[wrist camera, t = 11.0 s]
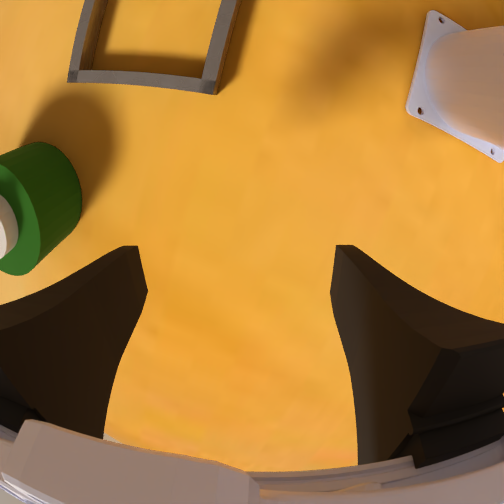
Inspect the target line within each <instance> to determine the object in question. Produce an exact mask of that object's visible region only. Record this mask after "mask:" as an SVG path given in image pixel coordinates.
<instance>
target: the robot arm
mask: <svg viewBox="0 0 504 504" xmlns="http://www.w3.org/2000/svg"><path fill="white" fill-rule="evenodd" d="M439 18H440V19H441V20H442V23H440V21H439ZM419 107H420V108H421V110H422V112H421V114H418V108H419ZM405 108H406V111H407V112H408V113H409V114H410V115H412V116H414V117H416V118H418V119H421V120H423V121H425V122H427V123H429V124H431V125H433V126H435V127H437V128H439V129H441V130H443V131H445V132H447V133H449V134H450V135H452V136H454V137H456V138H458V139H460V140H461V141H463V142H465V143H467V144H469V145H470V146H472V147H474V148H475V149H477V150H479V151H480V152H482V153H484V154H485V155H487V156H489V157H490V158H492V159H493V160H495V161H497V162H499V163H501V162H503V160H504V26H495V27H488V28H481V29H474V30H466V29H465V28H463V27H462V26H460V25H459V24H457V23H455V22H454V21H452V20H451V19H449V18H447V17H446V16H444V15H442V14H441V13H439V12H437V11H435V10H431V11H429V12H428V13H427V16H426V21H425V27H424V32H423V37H422V41H421V46H420V50H419V55H418V59H417V63H416V67H415V72H414V76H413V80H412V83H411V87H410V91H409V95H408V98H407V102H406V107H405ZM491 149H492V153H491ZM147 293H148V289H147V285H146V281H145V277H144V272H143V268H142V263H141V259H140V254H139V249H138V246H122V247H119V248H117V249H115V250H113V251H111V252H109V253H107V254H106V255H104V256H102V257H100V258H99V259H97V260H95V261H94V262H92V263H90V264H89V265H87V266H85V267H84V268H82V269H80V270H78V271H77V272H75V273H73V274H71V275H70V276H68V277H66V278H64V279H63V280H61V281H59V282H57V283H55V284H53V285H51V286H49V287H47V288H45V289H42V290H40V291H38V292H36V293H33V294H31V295H28V296H25V297H23V298H20V299H18V300H15V301H12V302H9V303H6V304H3V305H0V488H1V489H3V490H4V491H6V492H7V493H9V494H11V495H12V496H14V497H15V498H17V499H19V500H21V501H22V502H24V503H25V504H503V503H504V412H503V410H502V408H504V396H503V393H504V324H503V323H499V322H495V321H491V320H487V319H483V318H480V317H477V316H475V315H472V314H469V313H466V312H463V311H461V310H458V309H456V308H453V307H451V306H449V305H447V304H444V303H442V302H440V301H438V300H436V299H434V298H432V297H430V296H428V295H426V294H424V293H423V292H421V291H419V290H417V289H415V288H414V287H412V286H411V285H409V284H407V283H406V282H404V281H403V280H401V279H400V278H398V277H397V276H395V275H394V274H392V273H391V272H390V271H388V270H387V269H385V268H384V267H383V266H381V265H380V264H379V263H377V262H376V261H375V260H373V259H372V258H371V257H369V256H368V255H367V254H365V253H364V252H363V251H361V250H360V249H358V248H357V247H355V246H353V245H336V251H335V259H334V267H333V275H332V282H331V289H330V295H331V302H332V308H333V314H334V318H335V321H336V325H337V328H338V332H339V335H340V338H341V342H342V345H343V348H344V352H345V355H346V359H347V362H348V366H349V371H350V376H351V382H352V389H353V397H354V405H355V415H356V427H357V443H358V465H357V466H350V467H342V468H333V469H322V470H309V471H288V472H246V471H243V470H240V469H237V468H234V467H231V466H228V465H226V464H223V463H220V462H217V461H212V460H206V459H201V458H196V457H191V456H186V455H181V454H174V453H167V452H161V451H155V450H149V449H143V448H138V447H133V446H128V445H124V444H119V443H115V442H111V441H107V440H103V434H104V426H105V420H106V414H107V408H108V403H109V399H110V394H111V390H112V386H113V382H114V379H115V375H116V372H117V368H118V365H119V362H120V360H121V357H122V355H123V353H124V350H125V348H126V346H127V344H128V341H129V339H130V337H131V335H132V333H133V330H134V328H135V326H136V324H137V322H138V319H139V317H140V315H141V313H142V310H143V306H144V303H145V300H146V296H147Z"/></svg>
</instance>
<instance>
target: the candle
mask: <svg viewBox="0 0 504 504" xmlns="http://www.w3.org/2000/svg"><path fill="white" fill-rule="evenodd" d="M81 209H82V194H81V187H80V183H79V179H78V177H77V174H76V172H75V169H74V168H73V166H72V164H71V163H70V161H69V160H68V158H67V157H66V156H65V155H64V154H63V153H62V152H61V151H60V150H59V149H57V148H56V147H54V146H52V145H50V144H48V143H43V142H34V143H31V144H28V145H25V146H23V147H20V148H17V149H15V150H12V151H10V152H7V153H5V154H3V155H0V270H1V271H3V272H5V273H7V274H10V275H14V276H20V275H24V274H27V273H29V272H30V271H31V270H32V269H33V268H34V267H35V266H36V265H37V264H38V263H39V262H40V261H41V260H42V259H43V258H44V257H45V256H47V255H48V254H49V253H50V252H51V251H52V250H53V249H54V248H55V247H56V246H57V245H58V244H59V243H60V242H61V241H62V240H64V239H65V238H66V237H67V236H68V235H69V234H70V233H71V232H72V231H73V230H74V228H75V227H76V225H77V223H78V221H79V218H80V214H81Z"/></svg>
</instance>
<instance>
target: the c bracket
mask: <svg viewBox="0 0 504 504" xmlns="http://www.w3.org/2000/svg"><path fill="white" fill-rule="evenodd" d="M107 1H108V0H85V2H84V5H83V9H82V12H81V16H80V20H79V24H78V28H77V32H76V36H75V41H74V46H73V51H72V56H71V61H70V67H69V73H68V79H67V83H112V84H128V85H141V86H152V87H161V88H170V89H178V90H185V91H192V92H199V93H205V94H211V95H217V93H218V88H219V84H220V80H221V75H222V71H223V67H224V63H225V59H226V55H227V51H228V47H229V43H230V39H231V35H232V32H233V28H234V24H235V21H236V17H237V13H238V10H239V6H240V3H241V0H222V1H221V5H220V8H219V12H218V15H217V19H216V22H215V26H214V30H213V34H212V37H211V41H210V45H209V49H208V53H207V57H206V62H205V66H204V70H203V74H202V79H199V78H192V77H185V76H176V75H167V74H157V73H146V72H131V71H107V70H91V69H92V64H93V59H94V54H95V49H96V44H97V40H98V35H99V31H100V27H101V23H102V19H103V15H104V12H105V8H106V4H107Z"/></svg>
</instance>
